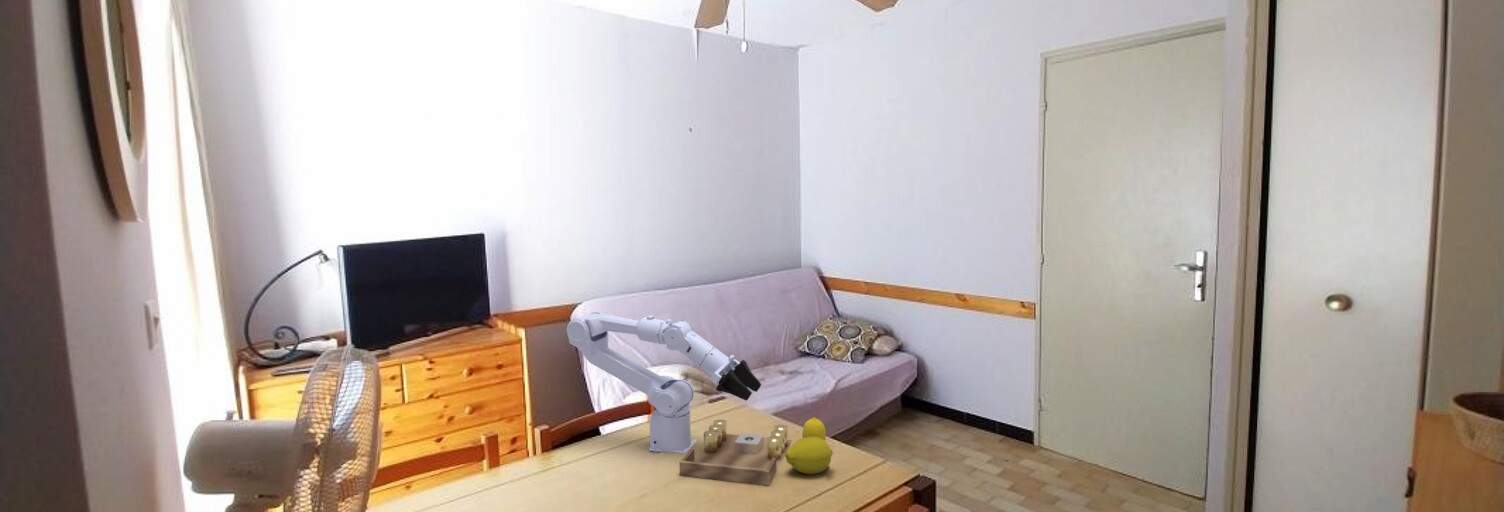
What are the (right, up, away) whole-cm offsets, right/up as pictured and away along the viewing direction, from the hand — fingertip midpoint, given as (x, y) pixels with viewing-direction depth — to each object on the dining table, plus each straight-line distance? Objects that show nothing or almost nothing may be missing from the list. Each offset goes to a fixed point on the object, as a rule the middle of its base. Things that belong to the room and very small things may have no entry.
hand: (754, 392), depth 144 cm
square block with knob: (-1, -15, +6) cm, 16 cm away
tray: (-3, -16, +1) cm, 16 cm away
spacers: (-2, -15, +6) cm, 16 cm away
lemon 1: (+14, -15, +6) cm, 22 cm away
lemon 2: (+12, -17, -6) cm, 21 cm away
